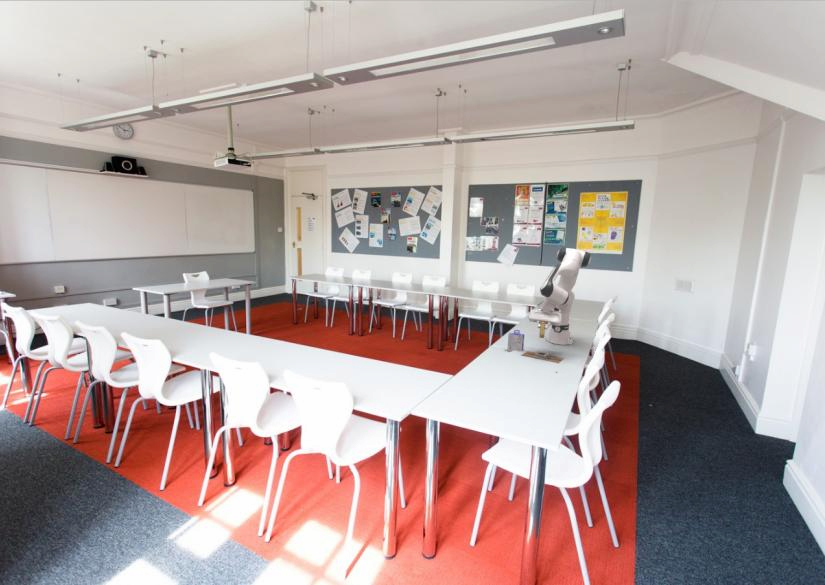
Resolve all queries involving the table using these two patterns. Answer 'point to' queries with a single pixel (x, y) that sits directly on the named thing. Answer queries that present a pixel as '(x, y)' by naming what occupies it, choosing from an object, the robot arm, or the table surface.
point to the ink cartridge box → (515, 341)
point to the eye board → (542, 356)
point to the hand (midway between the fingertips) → (542, 328)
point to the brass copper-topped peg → (542, 329)
